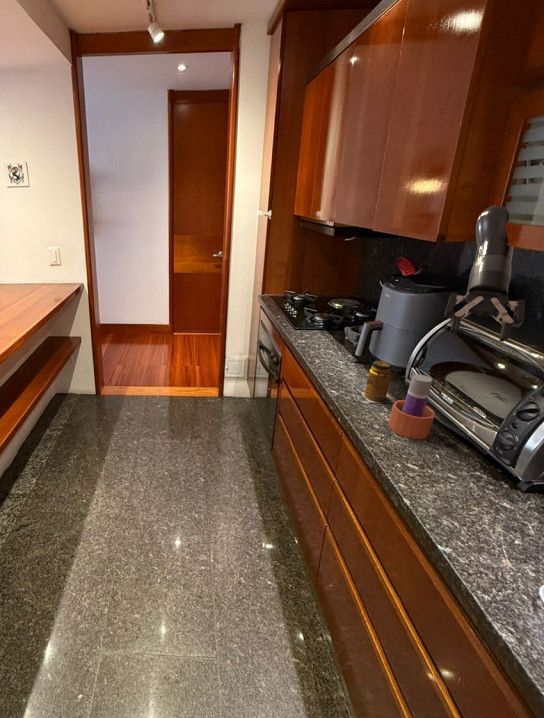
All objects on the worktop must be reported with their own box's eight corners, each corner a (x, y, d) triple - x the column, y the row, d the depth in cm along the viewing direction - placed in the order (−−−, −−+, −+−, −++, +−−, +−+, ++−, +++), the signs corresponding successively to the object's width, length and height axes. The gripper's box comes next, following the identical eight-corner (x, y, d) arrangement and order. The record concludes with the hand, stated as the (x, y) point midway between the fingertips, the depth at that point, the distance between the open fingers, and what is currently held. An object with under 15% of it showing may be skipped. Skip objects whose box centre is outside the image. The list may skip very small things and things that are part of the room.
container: (420, 432, 105) (435, 383, 99) (401, 429, 106) (414, 380, 100) (416, 423, 109) (430, 375, 103) (397, 420, 110) (410, 373, 104)
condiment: (359, 392, 128) (366, 358, 123) (386, 393, 127) (394, 359, 122) (368, 403, 121) (376, 368, 116) (396, 404, 120) (405, 369, 116)
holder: (423, 423, 110) (429, 403, 108) (433, 442, 102) (439, 421, 99) (385, 417, 113) (390, 398, 111) (392, 435, 105) (397, 414, 102)
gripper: (456, 266, 94) (444, 323, 89) (534, 271, 86) (525, 334, 82) (449, 284, 100) (438, 338, 95) (522, 290, 92) (513, 350, 88)
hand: (478, 336), depth 89 cm, fingers open, 8 cm apart
